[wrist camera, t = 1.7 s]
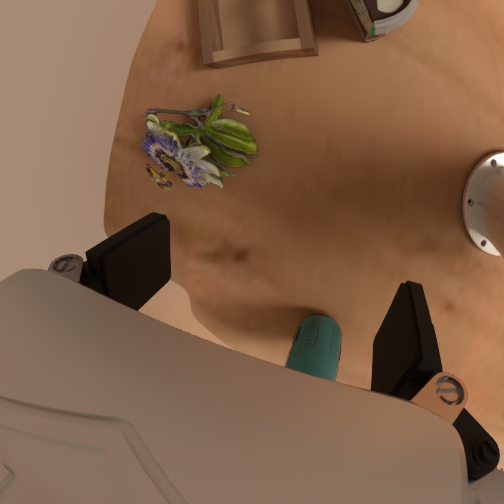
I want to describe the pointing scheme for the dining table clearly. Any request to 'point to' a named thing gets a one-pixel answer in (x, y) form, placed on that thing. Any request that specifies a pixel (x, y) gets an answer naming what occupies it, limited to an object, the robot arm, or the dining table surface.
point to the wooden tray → (255, 31)
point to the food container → (381, 16)
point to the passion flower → (197, 145)
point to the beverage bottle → (316, 347)
